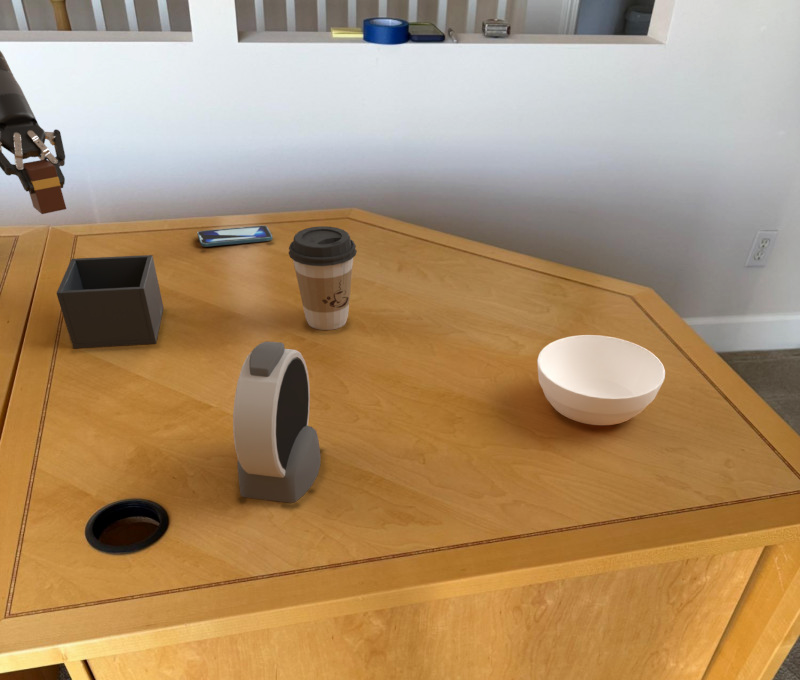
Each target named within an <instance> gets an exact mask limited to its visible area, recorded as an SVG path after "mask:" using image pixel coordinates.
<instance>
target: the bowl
mask: <svg viewBox="0 0 800 680" xmlns="http://www.w3.org/2000/svg"><path fill="white" fill-rule="evenodd" d="M537 356H538V357H537V360H536V363H537V364H536V365H537V376H538V383H539V386H540V387H541V389H542V392H543V394H544V397H545V399H546V400H547V401H548V403H549V404H550V405H551V406H552V407H553V408H554V410H555V411H556V412H558V413H559V414H560V415H562V416H564V417H566V418H568V419H570V420H573V421H575V422H578V423H581V424H585V425H592V426H612V425H618V424H622V423H625V422H627V421H629V420H631V419H633V418H634V417H636V416H638V415H639V414H641V413H642V412H643V411H644V410H645V409H646V408H647V406H649V405H650V404H651V403H652V402H654V400H655V399H656V397H657V395H658V393H659V391H660V389H661V387H662V386H663V383H664V381H665V380H666V379H665V378H666V369H665V366H664V364H663V363H662V361H661V360H660V358H658V357H657V355H655V354H654V353H653V352H652V351H650V350H649V349H647V348H645V347H644V346H641V345H639V344H636V343H634V342H632V341H628V340H626V339H622V338H618V337H614V336H607V335H599V334H598V335H597V334H596V335H595V334H584V335H583V334H581V335H572V336H565V337H563V338H559V339H556V340H554V341H552V342H550V343H548V344H547V345H546V346H544V347H543V348H542V349H541V350H540V352H539V354H538V355H537Z"/></svg>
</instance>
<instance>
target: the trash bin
mask: <svg viewBox="0 0 800 680" xmlns="http://www.w3.org/2000/svg"><path fill="white" fill-rule="evenodd" d="M68 263H69V264H68V265H67V268H66V270H65V272H64V274H63V277H62V279H61V281H60V284H59V286H58V289H57V290H56V293H55V294H56V297H57V300H58V303H59V307H60V309H61V313H62V316H63V319H64V323H65V326H66V330H67V333H68V336H69V340H70V343H71V346H72V349H73V350H74V349H88V348H91V349H92V348H106V347H123V346H124V347H125V346H140V345H156V344H157V342H158V338H159V332H160V327H161V322H162V318H163V313H164V302H163V299H162V294H161V293H162V292H161V289H160V284H159V280H158V274H157V270H156V264H155V261H154V256H153V254H143V255H125V256H124V255H121V256H100V257H99V256H98V257H81V258H80V257H79V258H77V257H76V258H71V259H70V261H69V262H68Z"/></svg>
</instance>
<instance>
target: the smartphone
mask: <svg viewBox="0 0 800 680" xmlns="http://www.w3.org/2000/svg"><path fill="white" fill-rule="evenodd" d="M197 238H198V240H199V243H200V246H201V247H204V248H205V247H217V246H227V245H239V244H248V243H258V242H260V243H261V242H269V241H272V240H273V234H272V232H271V231H270V228H269V227H268V226H267V225H263V224H262V225H252V226H240V227H239V226H238V227H228V228H218V229H217V228H216V229H205V230H198V231H197Z"/></svg>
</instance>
